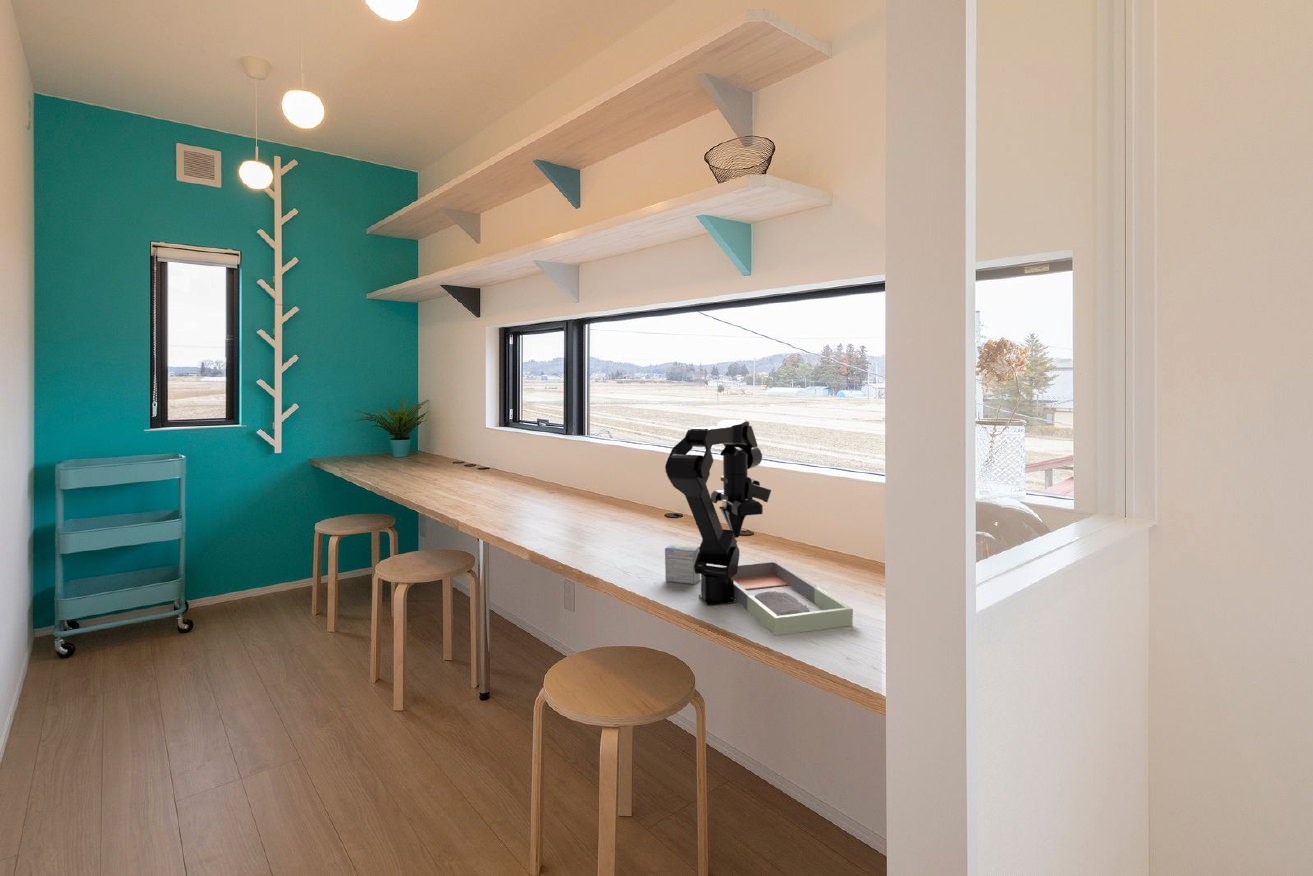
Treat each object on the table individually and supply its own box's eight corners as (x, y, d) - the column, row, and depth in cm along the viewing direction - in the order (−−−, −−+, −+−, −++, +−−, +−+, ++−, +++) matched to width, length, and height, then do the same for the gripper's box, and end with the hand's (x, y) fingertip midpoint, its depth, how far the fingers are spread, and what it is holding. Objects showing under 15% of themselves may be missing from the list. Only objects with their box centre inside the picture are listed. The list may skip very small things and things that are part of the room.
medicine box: (700, 579, 165) (700, 545, 164) (695, 585, 161) (694, 550, 160) (671, 576, 168) (670, 543, 167) (665, 581, 163) (664, 547, 163)
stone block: (790, 613, 146) (748, 608, 144) (794, 592, 146) (752, 587, 143) (814, 635, 135) (769, 631, 132) (819, 613, 134) (774, 608, 132)
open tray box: (775, 635, 129) (775, 618, 128) (712, 580, 163) (712, 567, 163) (852, 625, 133) (852, 608, 133) (775, 574, 168) (775, 560, 167)
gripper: (783, 476, 150) (783, 543, 151) (751, 465, 167) (751, 526, 169) (738, 479, 147) (738, 548, 148) (710, 468, 165) (710, 529, 166)
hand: (735, 537), depth 158 cm, fingers closed
